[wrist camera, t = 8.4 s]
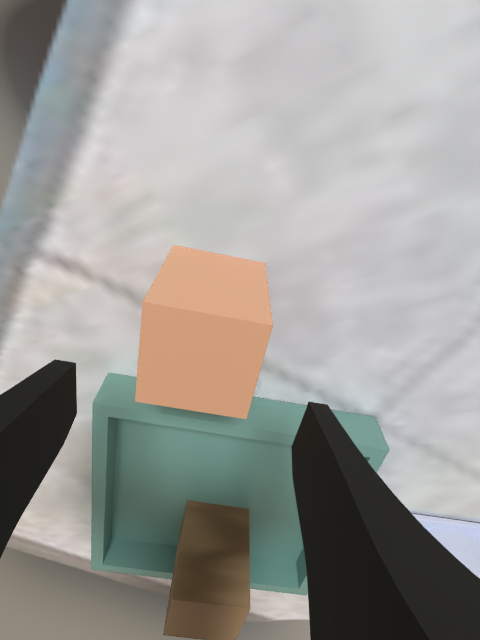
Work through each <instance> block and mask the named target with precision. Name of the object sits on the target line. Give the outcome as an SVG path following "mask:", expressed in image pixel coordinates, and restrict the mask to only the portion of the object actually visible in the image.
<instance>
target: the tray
mask: <svg viewBox="0 0 480 640" xmlns="http://www.w3.org/2000/svg"><path fill="white" fill-rule="evenodd" d="M136 381H137V377H131V376H125V375H119V374H113V373H108V375H107V377H106V378H105V380H104V382H103V384H102V386H101V388H100V390H99V392H98V394H97V396H96V397H95V399H94V401H93V420H92V536H91V569H93V570H101V571H109V572H118V573H126V574H134V575H142V576H151V577H159V578H167V579H172V577H173V571H174V564H175V558H176V552H177V545H178V539H179V534H180V529H181V525H182V520H183V516H184V511H185V507H186V503H187V500H191V501H198V502H205V503H212V504H218V505H225V506H232V507H239V508H246V509H249V541H250V589H258V590H266V591H274V592H282V593H291V594H299V595H307V594H308V584H307V570H306V561H305V553H304V547H303V541H302V534H301V528H300V522H299V516H298V510H297V504H296V497H295V491H294V484H293V476H292V449H291V447H292V444H293V441H294V439H295V436H296V434H297V431H298V428H299V426H300V423H301V421H302V418H303V415H304V413H305V410H306V408H307V406H306V405H300V404H294V403H288V402H282V401H276V400H270V399H264V398H258V397H252V401H251V405H250V408H249V412H248V415H247V419H241V418H235V417H229V416H222V415H216V414H210V413H204V412H197V411H191V410H185V409H178V408H172V407H166V406H160V405H153V404H147V403H141V402H135V394H136ZM331 411H332V412H333V413H334V415H335V416H336V418H337V419H338V421H339V422H340V424H341V425H342V427H343V428H344V429H345V431H346V432H347V434H348V435H349V437H350V438H351V439H352V441H353V442H354V444H355V445H356V446H357V448H358V449H359V451H360V452H361V453H362V455H363V456H364V457H365V459H366V460H367V461H368V463H369V464H370V465H371V467H372V468H373V469H374V470H375V472H376V473H377V471H378V469H379V468H380V466H381V464H382V462H383V461H384V459H385V457H386V455H387V454H388V452H389V447H388V445H387V443H386V440H385V438H384V436H383V433H382V431H381V428H380V426H379V424H378V421H377V419H376V417H372V416H366V415H360V414H354V413H348V412H342V411H336V410H331Z"/></svg>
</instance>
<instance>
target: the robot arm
mask: <svg viewBox="0 0 480 640" xmlns="http://www.w3.org/2000/svg"><path fill="white" fill-rule="evenodd" d="M76 414H77V399H76V363H73V362H67V361H60V360H54V361H52V362H50V363H49V364H47V365H46V366H44V367H43V368H41V369H40V370H38V371H37V372H35V373H33V374H32V375H30V376H29V377H27V378H26V379H24V380H23V381H21V382H20V383H18V384H17V385H15V386H14V387H12V388H11V389H9V390H7V391H6V392H4V393H3V394H1V395H0V558H1V555H2V553H3V551H4V549H5V547H6V545H7V543H8V541H9V539H10V536H11V534H12V532H13V530H14V529H15V527H16V525H17V523H18V521H19V519H20V517H21V516H22V514H23V512H24V511H25V509H26V507H27V505H28V504H29V502H30V500H31V499H32V497H33V495H34V494H35V492H36V490H37V489H38V487H39V485H40V484H41V482H42V480H43V478H44V477H45V475H46V473H47V472H48V470H49V468H50V467H51V465H52V463H53V462H54V460H55V458H56V456H57V455H58V453H59V451H60V449H61V448H62V446H63V444H64V442H65V440H66V438H67V435H68V433H69V431H70V428H71V426H72V424H73V421H74V419H75V417H76ZM291 449H292V476H293V484H294V491H295V497H296V504H297V510H298V516H299V522H300V528H301V534H302V541H303V547H304V553H305V561H306V570H307V584H308V599H309V616H310V635H311V640H480V523H474V522H467V521H460V520H453V519H446V518H439V517H432V516H425V515H418V514H411V513H410V511H409V510H408V509H407V508H406V507H405V506H404V505H403V504H402V503H401V502H400V501H399V499H398V498H397V497H396V496H395V495H394V494H393V493H392V491H391V490H390V489H389V488H388V486H387V485H386V484H385V483H384V482H383V480H382V479H381V478H380V477H379V476H378V474H377V473H376V472H375V470H374V469H373V468H372V467H371V465H370V464H369V463H368V461H367V460H366V459H365V457H364V456H363V455H362V453H361V452H360V451H359V449H358V448H357V446H356V445H355V444H354V442H353V441H352V439H351V438H350V437H349V435H348V434H347V432H346V431H345V429H344V428H343V427H342V425H341V424H340V422H339V421H338V419H337V418H336V416H335V415H334V413H333V412H332V411H331V409H330V408H329V406H328V405H325V404H319V403H313V402H308V405H307V408H306V410H305V413H304V415H303V418H302V421H301V423H300V426H299V428H298V431H297V434H296V436H295V439H294V441H293V444H292V447H291Z"/></svg>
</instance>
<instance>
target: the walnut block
mask: <svg viewBox="0 0 480 640" xmlns="http://www.w3.org/2000/svg"><path fill="white" fill-rule="evenodd" d="M249 610H250V541H249V509H246V508H239V507H232V506H225V505H218V504H212V503H205V502H198V501H191V500H187V503H186V507H185V511H184V516H183V520H182V525H181V529H180V534H179V539H178V545H177V552H176V558H175V564H174V571H173V577H172V583H171V589H170V596H169V602H168V608H167V615H166V621H165V627H164V634H163V635H168V636H176V637H186V638H195V639H203V640H236V638H237V636H238V634H239V632H240V630H241V627H242V625H243V623H244V621H245V619H246V617H247V614H248V612H249Z"/></svg>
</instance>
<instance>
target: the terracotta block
mask: <svg viewBox="0 0 480 640" xmlns="http://www.w3.org/2000/svg"><path fill="white" fill-rule="evenodd" d="M272 327H273V322H272V314H271V306H270V298H269V291H268V283H267V275H266V267H265V263H263V262H258V261H252V260H247V259H242V258H237V257H232V256H227V255H222V254H217V253H212V252H207V251H202V250H196V249H191V248H186V247H181V246H176V245H173V247H172V249H171V251H170V253H169V255H168V256H167V258H166V260H165V262H164V264H163V266H162V267H161V269H160V271H159V273H158V275H157V277H156V278H155V280H154V282H153V284H152V286H151V288H150V290H149V291H148V293H147V295H146V297H145V299H144V301H143V307H142V319H141V332H140V344H139V357H138V369H137V381H136V394H135V402H141V403H147V404H153V405H160V406H166V407H172V408H178V409H185V410H191V411H197V412H204V413H210V414H216V415H222V416H229V417H235V418H241V419H247V415H248V412H249V408H250V405H251V401H252V397H253V394H254V390H255V387H256V383H257V380H258V376H259V373H260V369H261V366H262V362H263V359H264V355H265V351H266V348H267V344H268V341H269V337H270V334H271V330H272Z"/></svg>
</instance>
